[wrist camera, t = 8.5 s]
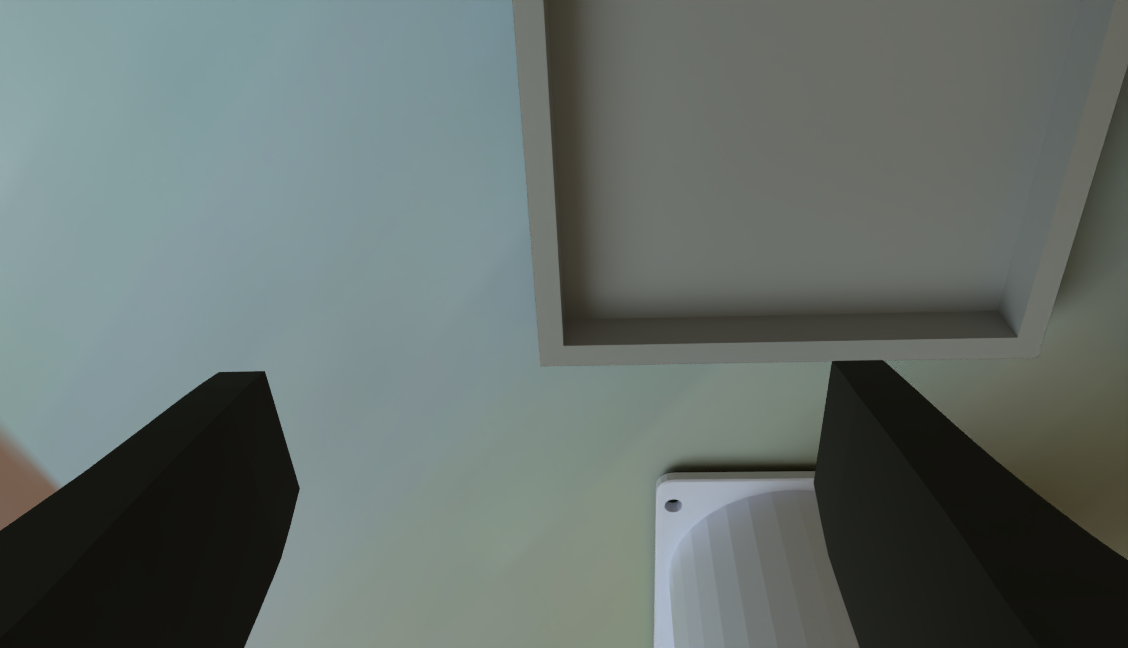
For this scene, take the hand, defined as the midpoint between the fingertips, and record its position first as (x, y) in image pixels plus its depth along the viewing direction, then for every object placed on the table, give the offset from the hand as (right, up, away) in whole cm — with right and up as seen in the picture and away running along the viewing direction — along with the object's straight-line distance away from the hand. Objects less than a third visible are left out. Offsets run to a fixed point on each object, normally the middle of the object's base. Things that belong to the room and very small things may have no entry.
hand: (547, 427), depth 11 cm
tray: (+5, +6, +8) cm, 12 cm away
